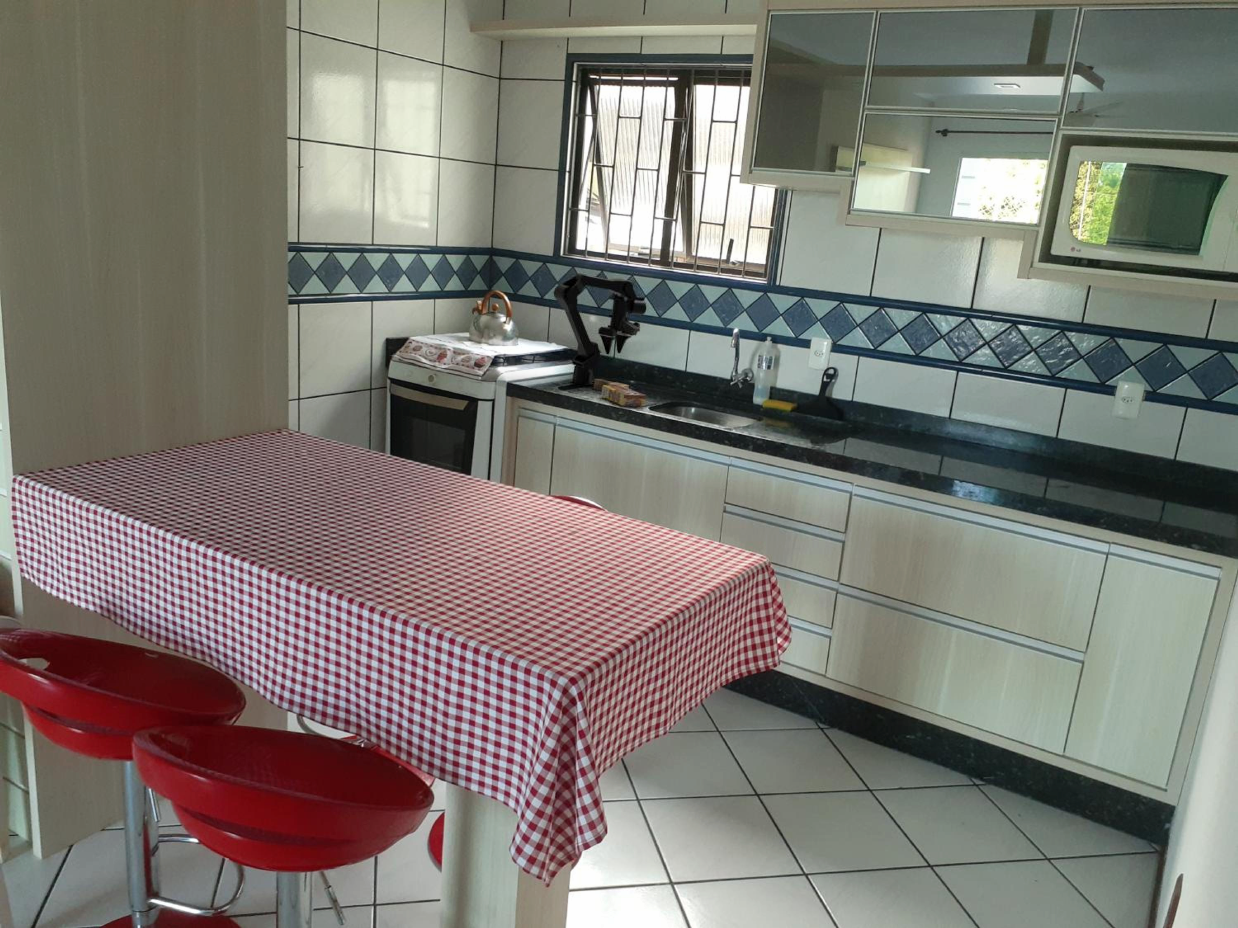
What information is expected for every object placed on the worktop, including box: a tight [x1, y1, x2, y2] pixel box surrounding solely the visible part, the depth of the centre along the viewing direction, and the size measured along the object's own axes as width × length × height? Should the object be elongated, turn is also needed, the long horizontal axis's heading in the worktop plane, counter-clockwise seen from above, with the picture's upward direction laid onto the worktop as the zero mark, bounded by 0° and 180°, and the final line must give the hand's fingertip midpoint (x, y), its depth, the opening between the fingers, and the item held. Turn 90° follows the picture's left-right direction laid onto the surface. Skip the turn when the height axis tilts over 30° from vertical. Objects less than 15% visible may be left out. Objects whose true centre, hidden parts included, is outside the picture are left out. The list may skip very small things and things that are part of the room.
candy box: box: [600, 385, 646, 407], centre depth 334 cm, size 9×4×15 cm
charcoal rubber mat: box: [608, 399, 657, 408], centre depth 338 cm, size 12×14×1 cm
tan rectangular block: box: [593, 378, 630, 392], centre depth 352 cm, size 12×6×4 cm, turn 61°
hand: (613, 353), depth 366 cm, fingers open, 9 cm apart
